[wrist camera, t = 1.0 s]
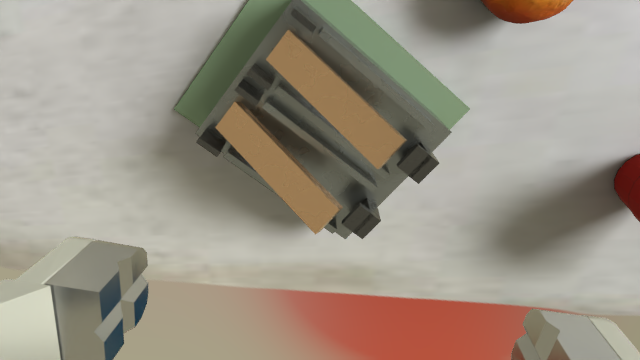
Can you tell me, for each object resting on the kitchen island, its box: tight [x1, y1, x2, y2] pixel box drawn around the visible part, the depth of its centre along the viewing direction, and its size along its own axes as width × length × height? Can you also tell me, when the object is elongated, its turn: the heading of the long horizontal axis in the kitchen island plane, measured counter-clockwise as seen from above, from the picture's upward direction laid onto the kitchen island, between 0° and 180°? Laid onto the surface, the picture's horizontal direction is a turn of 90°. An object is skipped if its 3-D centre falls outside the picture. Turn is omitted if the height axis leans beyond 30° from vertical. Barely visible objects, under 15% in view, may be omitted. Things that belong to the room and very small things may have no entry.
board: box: [174, 0, 470, 130], centre depth 41 cm, size 22×18×1 cm
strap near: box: [266, 30, 407, 169], centre depth 31 cm, size 12×3×1 cm
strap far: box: [215, 102, 343, 234], centre depth 33 cm, size 12×3×1 cm
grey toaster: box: [195, 0, 451, 239], centre depth 37 cm, size 17×14×8 cm
